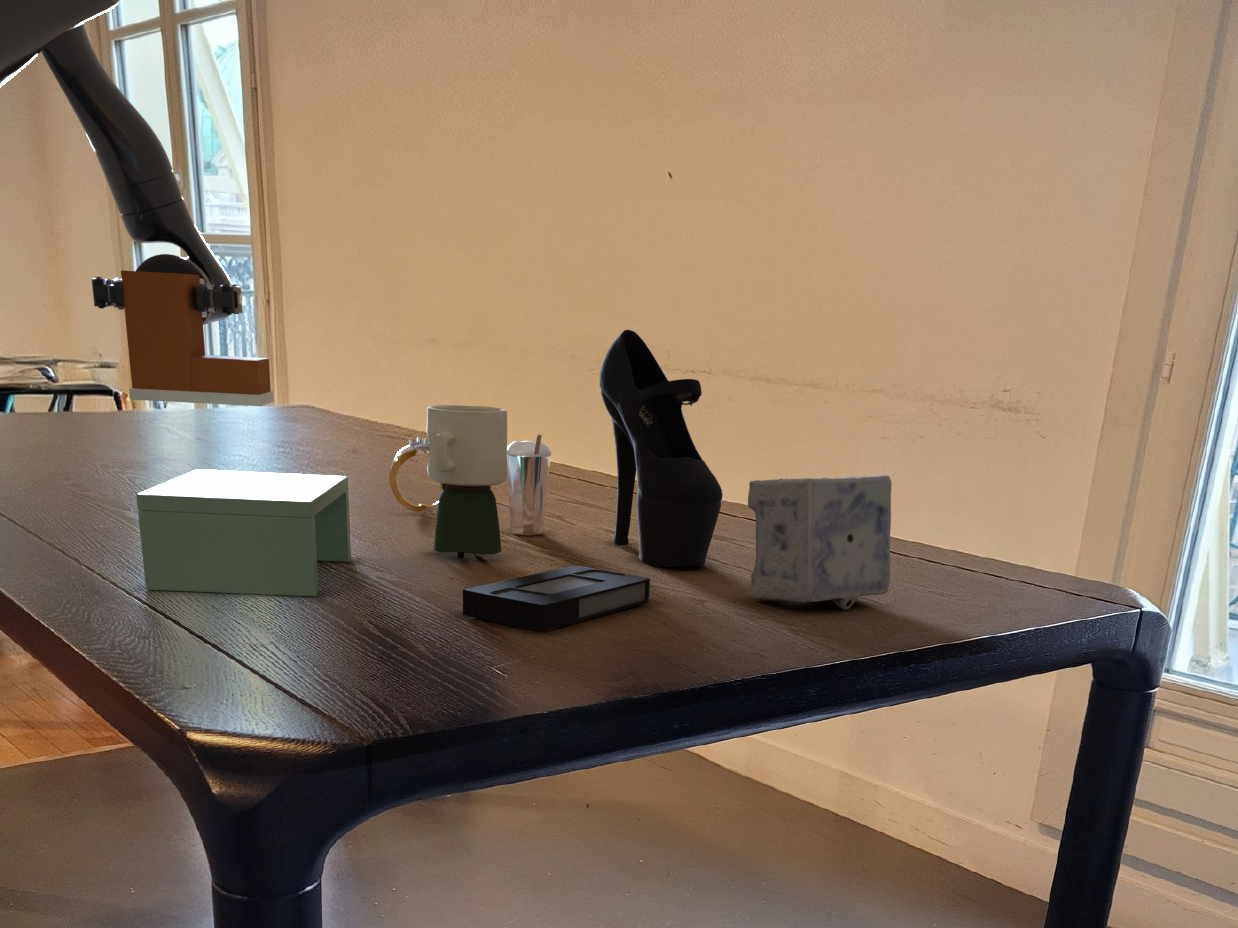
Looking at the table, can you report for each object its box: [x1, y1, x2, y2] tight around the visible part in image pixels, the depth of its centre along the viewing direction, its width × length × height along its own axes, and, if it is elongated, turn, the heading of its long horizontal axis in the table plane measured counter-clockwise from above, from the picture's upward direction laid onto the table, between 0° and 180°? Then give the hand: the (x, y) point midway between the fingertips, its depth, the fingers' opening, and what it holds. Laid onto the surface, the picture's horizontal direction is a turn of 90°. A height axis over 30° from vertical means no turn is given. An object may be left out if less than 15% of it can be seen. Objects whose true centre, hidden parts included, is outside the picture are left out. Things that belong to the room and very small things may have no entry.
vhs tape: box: [462, 564, 651, 632], centre depth 99 cm, size 8×14×2 cm, turn 147°
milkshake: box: [507, 434, 552, 537], centre depth 129 cm, size 4×5×10 cm
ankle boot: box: [120, 269, 275, 407], centre depth 120 cm, size 12×6×11 cm, turn 93°
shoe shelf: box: [135, 468, 352, 597], centre depth 105 cm, size 13×16×7 cm
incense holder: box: [747, 474, 892, 611], centre depth 105 cm, size 10×8×10 cm
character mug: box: [425, 404, 508, 560], centre depth 116 cm, size 11×7×13 cm, turn 161°
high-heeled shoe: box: [598, 329, 723, 568], centre depth 119 cm, size 8×19×20 cm, turn 32°
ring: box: [389, 436, 438, 516], centre depth 138 cm, size 7×3×8 cm, turn 100°
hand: (160, 296), depth 116 cm, fingers closed on ankle boot, 6 cm apart
